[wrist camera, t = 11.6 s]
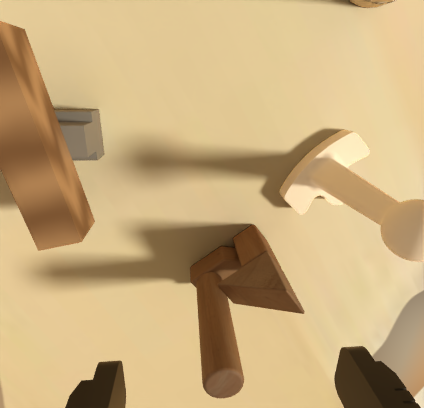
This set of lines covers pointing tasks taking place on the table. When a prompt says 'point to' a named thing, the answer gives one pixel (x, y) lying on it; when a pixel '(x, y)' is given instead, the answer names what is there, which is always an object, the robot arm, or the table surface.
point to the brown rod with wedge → (239, 294)
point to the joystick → (355, 193)
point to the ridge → (81, 132)
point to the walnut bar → (37, 150)
